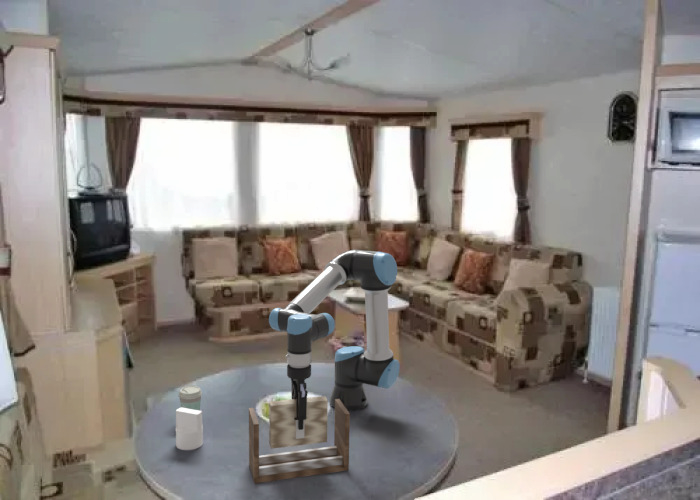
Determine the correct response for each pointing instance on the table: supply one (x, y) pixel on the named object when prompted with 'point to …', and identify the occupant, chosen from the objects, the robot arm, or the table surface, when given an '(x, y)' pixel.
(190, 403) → the coffee cup
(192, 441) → the white block
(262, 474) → the wooden rack
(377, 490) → the table surface
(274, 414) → the door panel
